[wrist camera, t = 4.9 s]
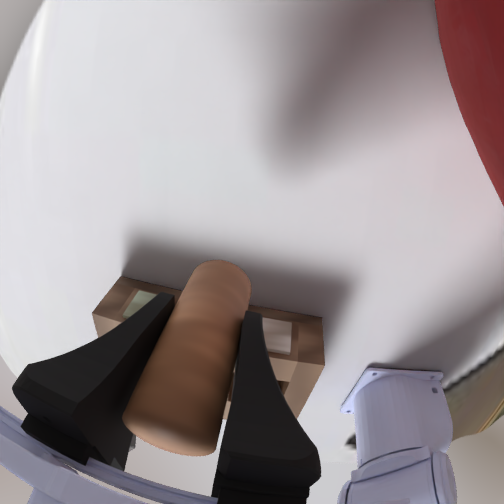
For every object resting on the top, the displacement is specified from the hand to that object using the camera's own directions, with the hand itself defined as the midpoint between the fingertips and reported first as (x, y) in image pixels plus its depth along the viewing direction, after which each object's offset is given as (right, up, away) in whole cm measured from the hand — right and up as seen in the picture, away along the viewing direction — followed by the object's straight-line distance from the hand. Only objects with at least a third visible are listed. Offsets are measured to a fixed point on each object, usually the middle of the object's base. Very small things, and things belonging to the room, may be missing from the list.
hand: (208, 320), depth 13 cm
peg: (0, +1, +2) cm, 2 cm away
